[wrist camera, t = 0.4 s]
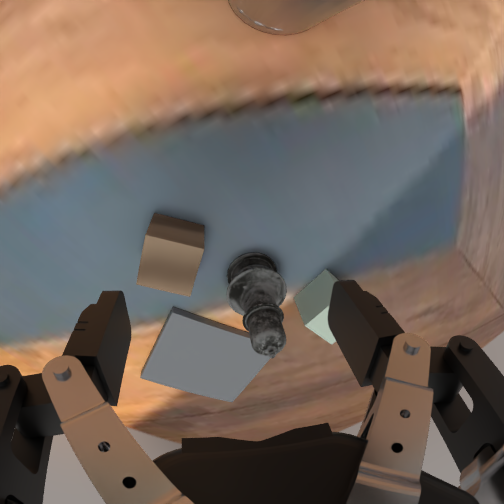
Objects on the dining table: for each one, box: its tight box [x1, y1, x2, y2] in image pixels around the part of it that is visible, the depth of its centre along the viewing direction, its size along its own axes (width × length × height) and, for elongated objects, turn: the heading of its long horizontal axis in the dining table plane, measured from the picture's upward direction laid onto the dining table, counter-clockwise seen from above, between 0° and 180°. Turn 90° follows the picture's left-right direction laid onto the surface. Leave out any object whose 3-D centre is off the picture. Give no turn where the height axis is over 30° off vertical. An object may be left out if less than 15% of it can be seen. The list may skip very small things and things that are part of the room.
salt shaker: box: [227, 253, 287, 358], centre depth 28 cm, size 6×6×12 cm
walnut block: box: [137, 213, 204, 297], centre depth 28 cm, size 5×5×5 cm
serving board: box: [140, 307, 270, 402], centre depth 38 cm, size 13×14×1 cm
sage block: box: [294, 269, 339, 344], centre depth 34 cm, size 5×5×5 cm
